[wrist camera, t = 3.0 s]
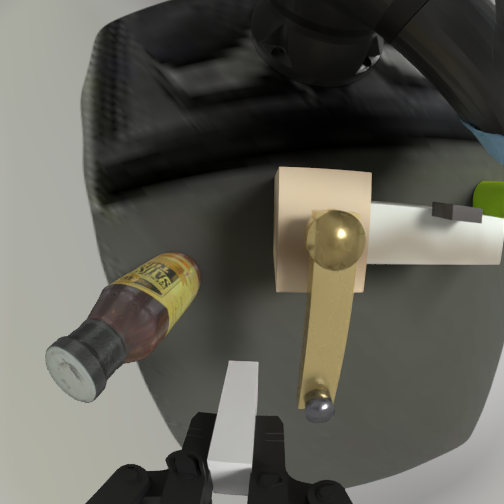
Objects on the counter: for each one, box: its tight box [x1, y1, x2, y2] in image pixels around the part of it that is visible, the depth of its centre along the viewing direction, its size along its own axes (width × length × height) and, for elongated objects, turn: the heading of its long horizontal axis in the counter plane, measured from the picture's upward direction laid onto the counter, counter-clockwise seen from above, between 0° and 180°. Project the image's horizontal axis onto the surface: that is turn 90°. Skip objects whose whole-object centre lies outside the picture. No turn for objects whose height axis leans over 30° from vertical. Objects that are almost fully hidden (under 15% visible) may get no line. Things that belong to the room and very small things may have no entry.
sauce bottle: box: [46, 252, 201, 403], centre depth 22 cm, size 6×6×20 cm
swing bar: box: [297, 209, 366, 423], centre depth 15 cm, size 13×3×3 cm, turn 179°
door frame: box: [273, 167, 504, 292], centre depth 21 cm, size 8×20×15 cm, turn 89°
